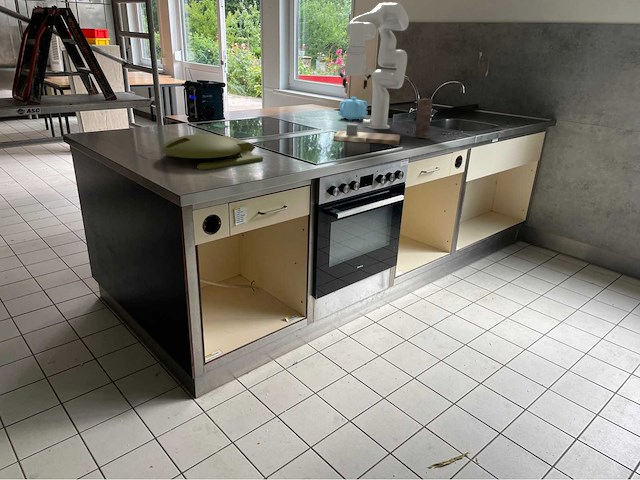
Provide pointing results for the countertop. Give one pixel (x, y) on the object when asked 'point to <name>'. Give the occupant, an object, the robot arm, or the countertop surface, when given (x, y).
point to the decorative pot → (353, 109)
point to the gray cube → (352, 129)
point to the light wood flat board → (368, 137)
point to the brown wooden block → (423, 118)
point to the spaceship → (211, 150)
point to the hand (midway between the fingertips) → (354, 88)
